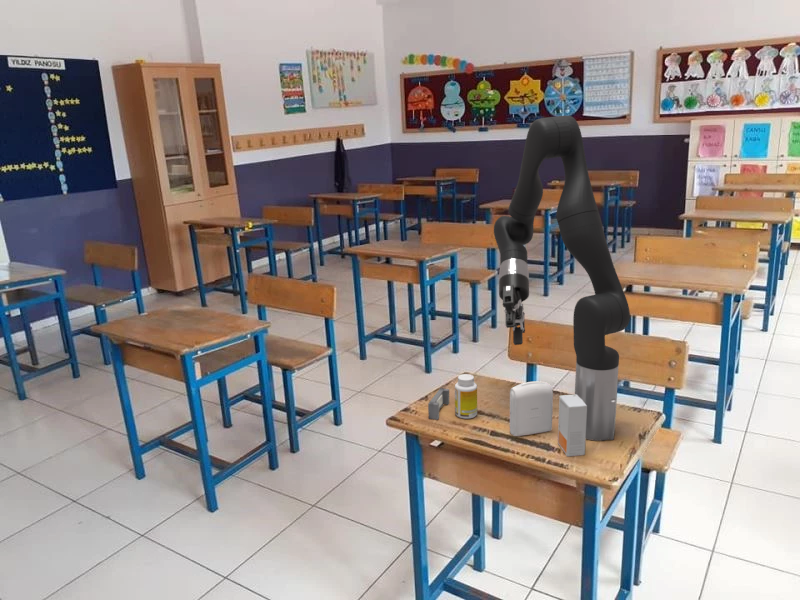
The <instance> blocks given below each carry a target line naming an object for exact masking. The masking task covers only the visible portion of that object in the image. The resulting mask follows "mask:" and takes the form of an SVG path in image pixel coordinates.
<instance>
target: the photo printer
mask: <svg viewBox="0 0 800 600" xmlns="http://www.w3.org/2000/svg"><path fill="white" fill-rule="evenodd" d="M553 396H554V394H553V387H552V385H551V384H550V383H549V382H546V381H540V380H539V381H528V382H527V381H526V382H524V383H523V382H522V383H519V384H516V385H515V386H513V387H511V388H510V390H509V433H510V434H511V435H512V436H514V437H521V436H527V435H529V436H530V435H535V434H540V433H546V432H550V431H552V429H553V408H554V407H553V403H554V402H553V401H554V397H553Z"/></svg>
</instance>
